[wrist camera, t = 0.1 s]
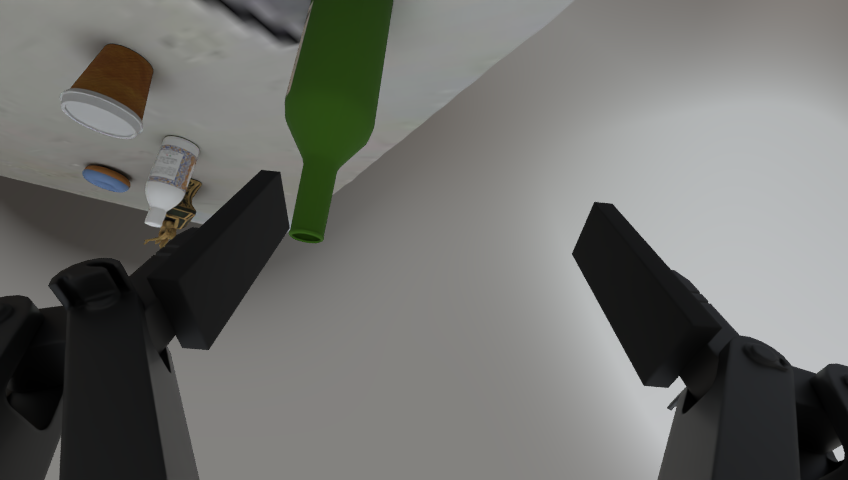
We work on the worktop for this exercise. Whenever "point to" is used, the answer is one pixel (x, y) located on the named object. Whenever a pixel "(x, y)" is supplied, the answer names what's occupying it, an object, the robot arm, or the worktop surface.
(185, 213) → the decorative box
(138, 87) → the disposable coffee cup
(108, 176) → the doughnut
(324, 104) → the wine bottle
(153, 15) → the worktop surface
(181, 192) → the bath foam
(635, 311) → the robot arm
